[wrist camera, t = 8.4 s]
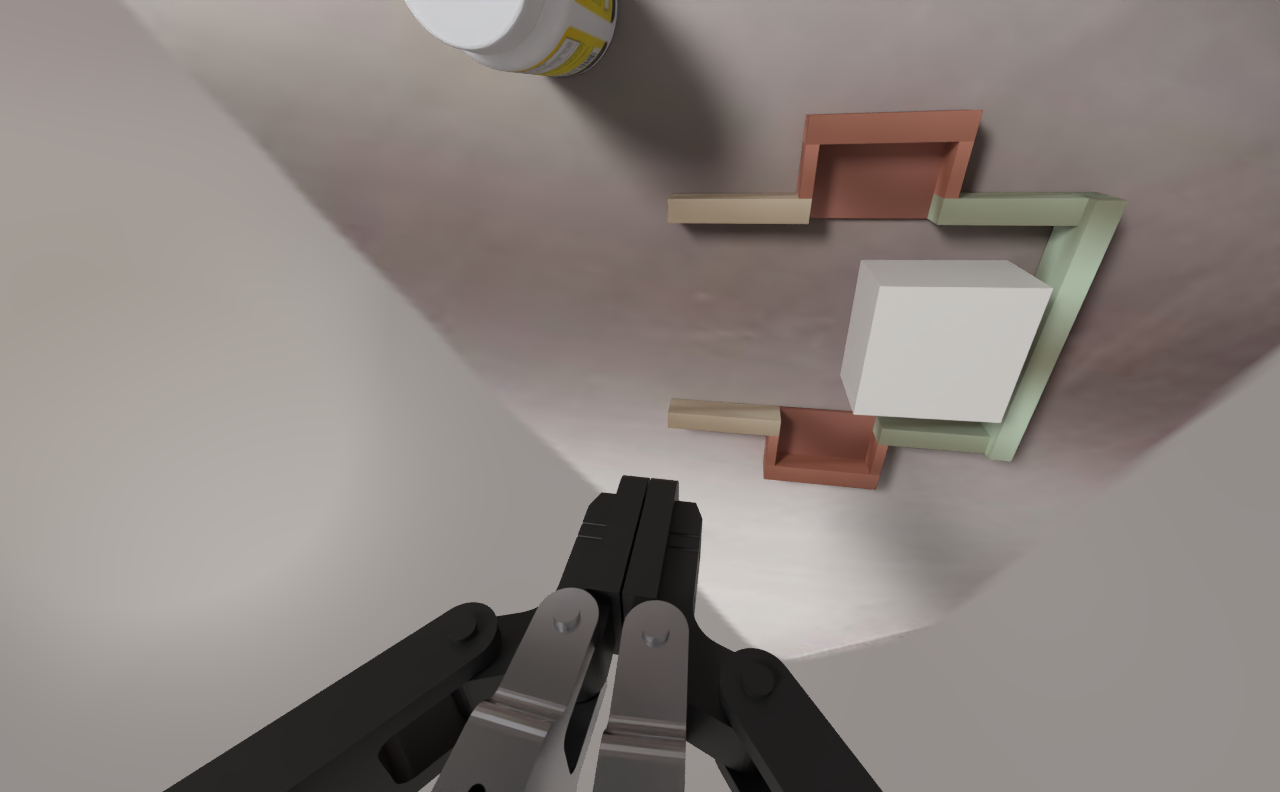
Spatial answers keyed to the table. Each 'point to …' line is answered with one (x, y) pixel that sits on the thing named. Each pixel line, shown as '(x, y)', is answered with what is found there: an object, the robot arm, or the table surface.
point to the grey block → (940, 337)
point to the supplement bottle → (523, 32)
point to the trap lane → (903, 188)
